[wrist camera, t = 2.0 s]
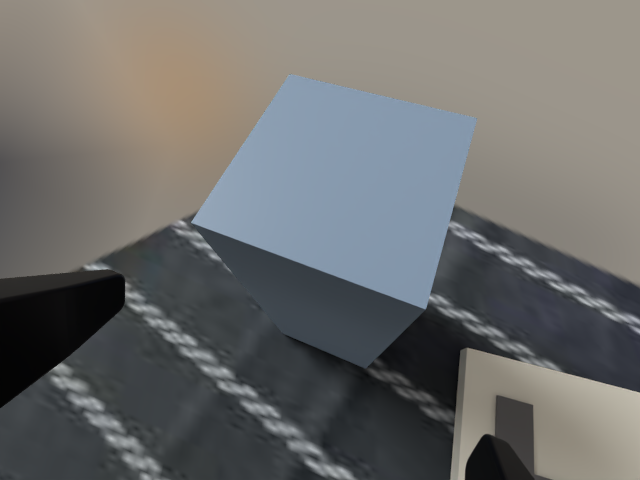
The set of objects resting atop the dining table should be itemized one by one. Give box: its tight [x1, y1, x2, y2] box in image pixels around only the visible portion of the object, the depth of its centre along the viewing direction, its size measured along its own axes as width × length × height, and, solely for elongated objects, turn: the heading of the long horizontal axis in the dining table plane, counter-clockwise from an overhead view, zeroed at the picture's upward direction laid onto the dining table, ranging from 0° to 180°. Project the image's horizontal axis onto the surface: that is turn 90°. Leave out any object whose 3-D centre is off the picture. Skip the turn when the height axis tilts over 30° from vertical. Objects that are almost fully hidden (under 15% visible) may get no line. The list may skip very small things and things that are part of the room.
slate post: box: [191, 74, 477, 369], centre depth 13 cm, size 5×5×13 cm
